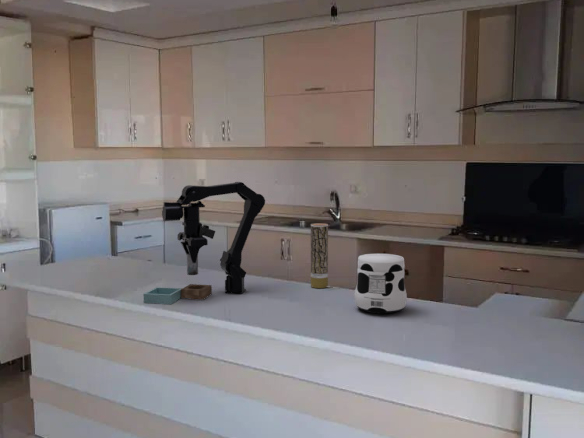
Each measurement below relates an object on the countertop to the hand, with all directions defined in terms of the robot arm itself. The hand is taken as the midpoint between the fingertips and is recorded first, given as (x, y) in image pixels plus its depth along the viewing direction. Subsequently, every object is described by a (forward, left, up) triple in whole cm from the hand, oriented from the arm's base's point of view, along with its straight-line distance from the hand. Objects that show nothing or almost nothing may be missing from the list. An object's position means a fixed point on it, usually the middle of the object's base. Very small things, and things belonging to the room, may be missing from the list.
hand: (192, 261), depth 208 cm
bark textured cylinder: (-43, -25, -13) cm, 52 cm away
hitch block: (-1, -1, -13) cm, 13 cm away
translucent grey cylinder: (0, 0, -5) cm, 4 cm away
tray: (+9, +6, -13) cm, 17 cm away
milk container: (-69, +4, -13) cm, 70 cm away
